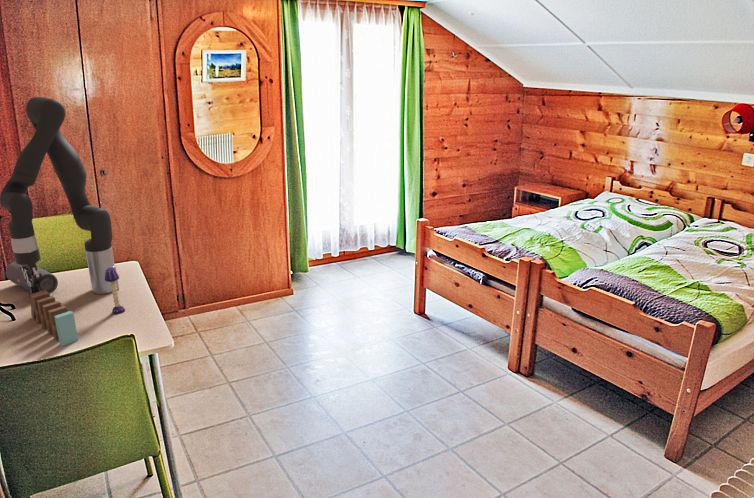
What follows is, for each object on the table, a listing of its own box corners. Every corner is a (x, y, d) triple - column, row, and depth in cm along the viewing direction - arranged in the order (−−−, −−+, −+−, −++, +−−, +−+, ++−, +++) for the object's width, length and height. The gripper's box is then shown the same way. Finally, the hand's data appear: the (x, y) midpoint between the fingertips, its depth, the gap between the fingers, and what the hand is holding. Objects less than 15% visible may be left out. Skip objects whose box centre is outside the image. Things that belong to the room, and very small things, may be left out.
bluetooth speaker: (6, 287, 229) (1, 264, 225) (30, 280, 236) (25, 256, 233) (37, 301, 217) (31, 277, 213) (61, 293, 224) (56, 269, 221)
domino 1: (31, 315, 205) (30, 294, 199) (46, 310, 208) (45, 289, 203) (34, 319, 204) (33, 297, 198) (48, 314, 207) (48, 293, 202)
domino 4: (47, 332, 194) (42, 305, 191) (63, 327, 198) (58, 300, 195) (50, 334, 193) (44, 307, 190) (66, 329, 197) (60, 302, 193)
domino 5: (53, 338, 191) (48, 310, 188) (69, 332, 195) (64, 305, 191) (56, 340, 190) (50, 312, 186) (72, 334, 193) (66, 307, 190)
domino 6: (59, 344, 187) (54, 316, 184) (75, 338, 191) (70, 310, 188) (62, 346, 186) (56, 318, 183) (78, 340, 190) (73, 312, 186)
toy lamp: (117, 315, 207) (110, 271, 201) (107, 313, 208) (100, 269, 203) (127, 309, 211) (120, 267, 205) (117, 307, 213) (110, 265, 207)
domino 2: (36, 322, 201) (31, 296, 198) (51, 317, 205) (47, 291, 201) (39, 324, 200) (34, 298, 197) (54, 319, 204) (49, 293, 200)
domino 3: (42, 327, 198) (36, 300, 194) (57, 322, 202) (52, 296, 198) (44, 329, 197) (39, 302, 193) (60, 324, 200) (54, 297, 197)
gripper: (6, 246, 199) (16, 293, 205) (21, 255, 191) (31, 303, 197) (29, 241, 204) (39, 286, 210) (45, 250, 196) (54, 296, 202)
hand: (35, 294), depth 203 cm, fingers closed
